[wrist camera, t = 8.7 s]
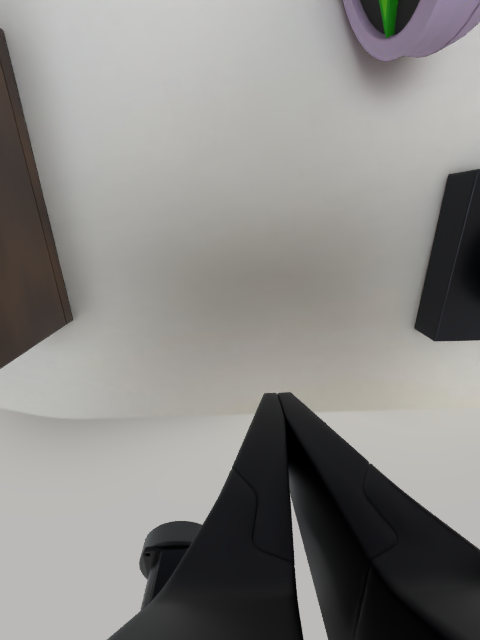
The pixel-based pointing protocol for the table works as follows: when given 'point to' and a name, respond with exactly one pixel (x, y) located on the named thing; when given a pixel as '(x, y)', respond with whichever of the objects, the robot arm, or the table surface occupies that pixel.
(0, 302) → the frame box
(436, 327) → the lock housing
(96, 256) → the table surface
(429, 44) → the headphones
